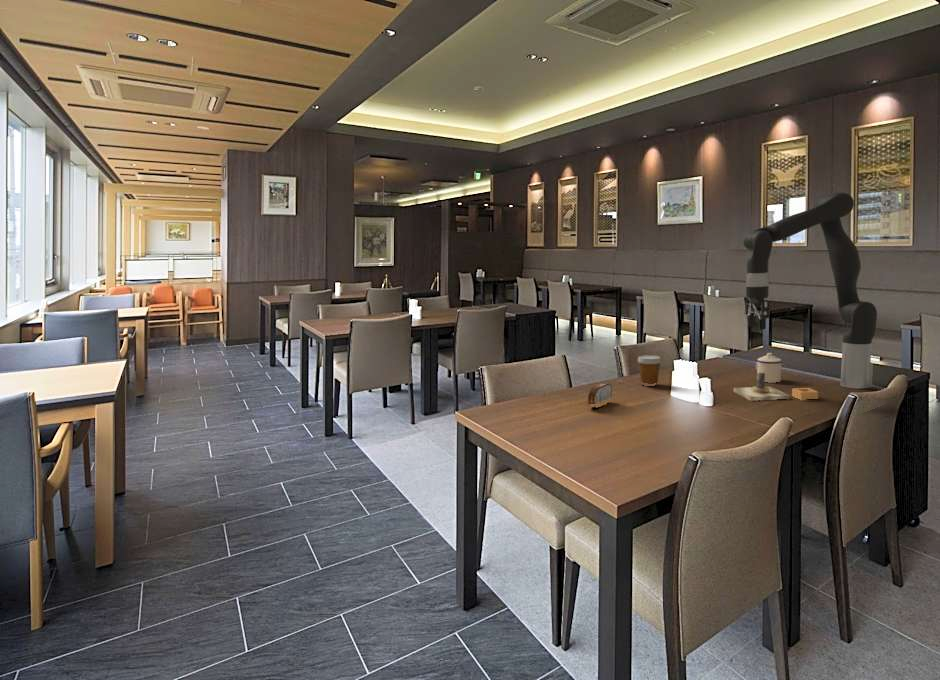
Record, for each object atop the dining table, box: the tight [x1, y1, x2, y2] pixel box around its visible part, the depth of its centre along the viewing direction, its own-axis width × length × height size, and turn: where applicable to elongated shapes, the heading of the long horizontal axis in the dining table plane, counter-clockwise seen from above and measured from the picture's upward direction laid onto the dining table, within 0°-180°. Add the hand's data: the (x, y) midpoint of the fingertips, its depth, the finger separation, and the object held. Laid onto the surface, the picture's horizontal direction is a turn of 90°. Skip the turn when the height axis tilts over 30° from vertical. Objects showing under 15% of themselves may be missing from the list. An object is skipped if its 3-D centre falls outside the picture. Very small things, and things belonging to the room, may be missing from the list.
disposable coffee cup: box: [637, 354, 662, 384], centre depth 235 cm, size 10×10×12 cm
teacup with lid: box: [755, 352, 783, 384], centre depth 234 cm, size 12×9×12 cm
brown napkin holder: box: [587, 381, 613, 405], centre depth 207 cm, size 15×3×8 cm, turn 141°
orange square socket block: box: [791, 387, 819, 401], centre depth 205 cm, size 6×6×3 cm
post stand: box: [733, 373, 791, 402], centre depth 211 cm, size 14×14×8 cm
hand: (756, 327), depth 213 cm, fingers open, 8 cm apart
